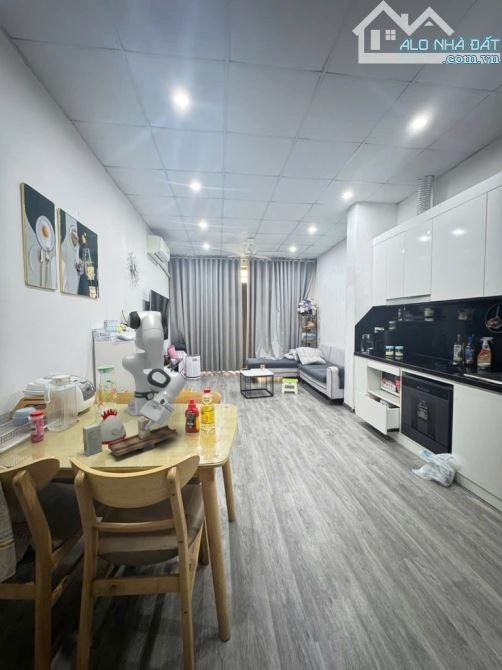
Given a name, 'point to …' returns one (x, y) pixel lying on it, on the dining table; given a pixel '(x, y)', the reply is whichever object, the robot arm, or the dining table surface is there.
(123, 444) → the balance beam
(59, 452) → the dining table surface
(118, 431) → the grey crested helmet
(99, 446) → the skincare box
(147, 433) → the rider block
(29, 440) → the dining table surface
